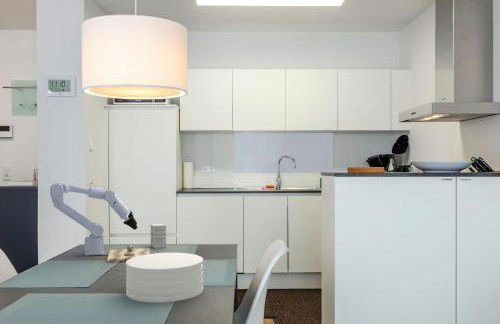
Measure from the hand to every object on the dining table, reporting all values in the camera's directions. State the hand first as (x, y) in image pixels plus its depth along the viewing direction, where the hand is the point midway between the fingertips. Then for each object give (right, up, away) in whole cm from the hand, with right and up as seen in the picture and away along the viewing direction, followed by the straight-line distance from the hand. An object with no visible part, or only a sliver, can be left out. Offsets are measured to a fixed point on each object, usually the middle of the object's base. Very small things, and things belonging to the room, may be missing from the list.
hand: (136, 226), depth 244 cm
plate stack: (+30, -13, -77) cm, 84 cm away
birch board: (0, -13, -15) cm, 20 cm away
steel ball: (-1, -10, -10) cm, 14 cm away
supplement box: (+10, -13, +10) cm, 19 cm away
